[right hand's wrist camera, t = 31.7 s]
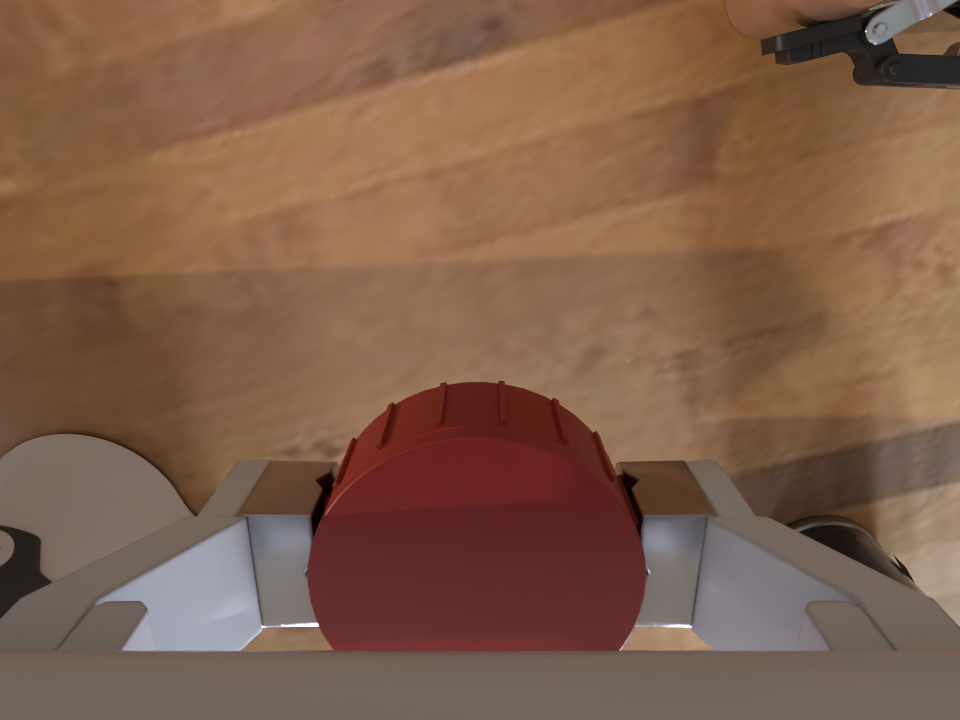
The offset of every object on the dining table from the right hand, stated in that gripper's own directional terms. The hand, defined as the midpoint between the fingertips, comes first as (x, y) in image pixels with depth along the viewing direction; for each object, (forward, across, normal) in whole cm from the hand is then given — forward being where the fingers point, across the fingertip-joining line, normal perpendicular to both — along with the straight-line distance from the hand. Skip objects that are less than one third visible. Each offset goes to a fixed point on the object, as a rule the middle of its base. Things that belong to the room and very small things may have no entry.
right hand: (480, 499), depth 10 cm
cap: (-2, 0, 0) cm, 2 cm away
